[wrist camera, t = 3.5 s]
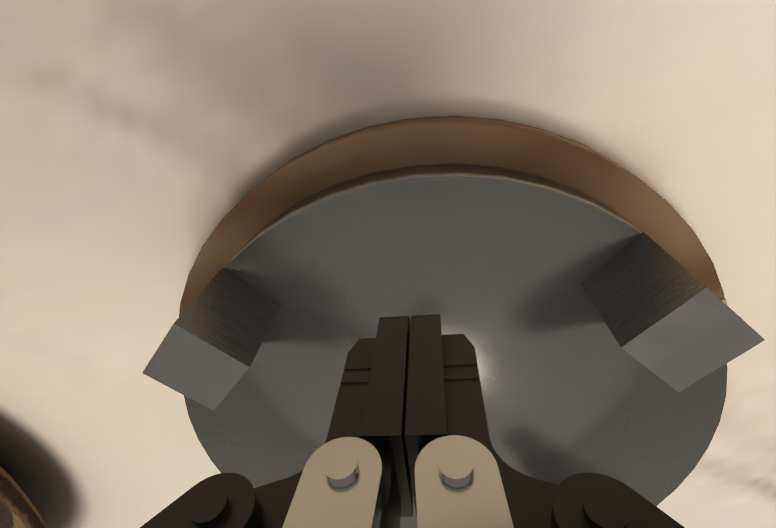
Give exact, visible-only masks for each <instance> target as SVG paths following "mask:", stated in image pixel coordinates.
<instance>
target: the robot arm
mask: <svg viewBox="0 0 776 528" xmlns="http://www.w3.org/2000/svg"><path fill="white" fill-rule="evenodd" d="M413 496H414V503H415V511H416V517H417V522H418V528H684V527H683V526H682V525H680V524H679V523H678V522H676V521H675V520H673V519H672V518H671V517H669V516H668V515H667V514H665V513H664V512H663V511H661V510H660V509H659V508H657V507H656V506H655V505H653V504H652V503H651V502H649V501H648V500H647V499H645V498H644V497H643V496H641V495H640V494H639V493H637V492H636V491H634V490H633V489H632V488H630V487H629V486H627V485H626V484H624V483H623V482H621V481H619V480H617V479H615V478H612V477H609V476H607V475H603V474H599V473H590V472H587V473H578V474H574V475H572V476H569V477H567V478H566V479H565V480H563V481H562V482H561V483H560V484H559V485H556V484H553V483H549V482H546V481H543V480H539V479H536V478H532V477H530V476H527V475H524V474H522V473H520V472H518V471H516V470H514V469H513V468H511V467H510V466H509V465H507V464H506V463H505V462H504V461H503V460H502V459H501V458H500V457H499V456H498V454H497V453H496V451H495V450H494V448H493V446H492V444H491V441H490V437H489V431H488V425H487V419H486V413H485V407H484V401H483V395H482V388H481V382H480V376H479V370H478V364H477V358H476V352H475V347H474V346H473V345H472V343H471V342H470V341H469V340H468V339H467V337H466V336H465V335H464V334H447V335H442V331H441V317H440V314H432V315H413V316H411V324H410V317H409V316H395V317H380V318H379V323H378V329H377V335H376V338H361V339H359V340H358V341H357V342H356V344H355V345H354V346H353V347H352V348H351V350H350V351H349V352H348V354H347V358H346V362H345V366H344V372H343V374H342V378H341V386H340V387H339V391H338V395H337V399H336V403H335V407H334V411H333V415H332V419H331V423H330V427H329V431H328V435H327V439H326V442H325V444H324V445H322V446H321V447H319V448H318V449H317V450H316V451H315V452H314V453H313V454H312V455H311V456H310V458H309V459H308V461H307V463H306V465H305V467H304V469H303V470H302V471H300V472H299V473H297V474H295V475H293V476H290V477H288V478H285V479H282V480H279V481H275V482H272V483H269V484H266V485H263V486H260V487H257V488H253V485H252V484H251V482H250V481H249V480H248V479H247V478H246V477H245V476H243V475H241V474H237V473H221V474H217V475H213V476H211V477H209V478H206V479H205V480H203V481H201V482H199V483H198V484H196V485H195V486H193V487H192V488H191V489H190V490H188V491H187V492H186V493H184V494H183V495H182V496H180V497H179V498H178V499H177V500H175V501H174V502H173V503H171V504H170V505H169V506H168V507H166V508H165V509H164V510H162V511H161V512H160V513H158V514H157V515H156V516H155V517H153V518H152V519H151V520H149V521H148V522H147V523H145V524H144V525H143V526H142V527H140V528H400V517H413Z"/></svg>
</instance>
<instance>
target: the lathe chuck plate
mask: <svg viewBox="0 0 776 528" xmlns="http://www.w3.org/2000/svg"><path fill="white" fill-rule="evenodd" d="M432 314H440V317H441V331H442V335H447V334H464V335H465V336H466V337H467V339H468V340H469V341H470V342H471V343H472V345H473V346H474V347H475V352H476V358H477V364H478V370H479V376H480V382H481V388H482V395H483V401H484V407H485V413H486V419H487V425H488V431H489V437H490V441H491V444H492V446H493V448H494V450H495V451H496V453H497V454H498V456H499V457H500V458H501V459H502V460H503V461H504V462H505V463H506V464H507V465H509V466H510V467H511V468H513V469H514V470H516V471H518V472H520V473H522V474H524V475H527V476H530V477H532V478H536V479H539V480H543V481H546V482H549V483H553V484H556V485H559V484H560V483H561V482H562V481H563V480H565V479H566V478H567V477H569V476H572V475H574V474H578V473H587V472H590V473H599V474H603V475H607V476H609V477H612V478H615V479H617V480H619V481H621V482H623V483H624V484H626V485H627V486H629V487H630V488H632V489H633V490H634V491H636V492H637V493H639V494H640V495H641V496H643V497H644V498H645V499H647V500H648V501H649V502H651V503H652V504H653V505H655V506H657V505H658V504H659V503H660V502H662V501H663V500H664V499H665V498H666V497H667V496H668V495H670V494H671V493H672V492H673V491H674V490H675V489H676V488H677V487H678V486H679V485H680V484H681V483H682V482H683V481H684V479H685V478H686V477H687V476H688V475H689V474H690V473H691V472H692V470H693V469H694V468H695V466H696V465H697V463H698V462H699V460H700V459H701V457H702V456H703V454H704V453H705V451H706V450H707V448H708V447H709V444H710V442H711V440H712V438H713V435H714V433H715V431H716V429H717V427H718V424H719V422H720V418H721V414H722V410H723V406H724V402H725V398H726V383H727V363H728V362H729V361H731V360H733V359H734V358H736V357H738V356H739V355H741V354H743V353H744V352H746V351H748V350H749V349H751V348H753V347H754V346H756V345H757V344H759V343H761V342H762V341H764V339H763V338H762V337H761V336H760V335H759V334H758V333H757V332H756V331H754V330H753V329H752V328H751V327H750V326H749V325H748V324H747V323H746V322H745V321H743V320H742V319H741V318H740V317H739V316H738V315H737V314H736V313H735V312H734V311H732V310H731V309H730V308H729V307H728V306H727V305H726V304H725V303H724V302H722V301H721V300H720V299H719V298H718V297H717V296H716V295H715V294H714V293H713V292H711V291H710V290H709V289H708V288H707V287H706V286H705V285H704V284H702V283H701V282H700V281H699V280H698V279H697V278H696V277H694V276H693V275H692V274H691V273H690V272H689V271H688V270H686V269H685V268H684V267H683V266H682V265H681V264H680V263H679V262H677V261H676V260H675V259H674V258H673V257H672V256H671V255H669V254H668V253H667V252H666V251H665V250H664V249H663V248H661V247H660V246H659V245H658V244H657V243H656V242H655V241H653V240H652V239H651V238H650V237H649V236H648V235H647V234H645V233H644V232H643V231H641V230H640V229H639V228H637V227H636V226H635V225H633V224H632V223H631V222H630V221H628V220H627V219H626V218H624V217H623V216H622V215H620V214H619V213H618V212H616V211H615V210H614V209H612V208H611V207H609V206H607V205H605V204H603V203H601V202H599V201H598V200H596V199H594V198H592V197H590V196H588V195H587V194H585V193H583V192H581V191H579V190H577V189H574V188H571V187H569V186H566V185H563V184H560V183H558V182H555V181H552V180H550V179H547V178H544V177H541V176H538V175H533V174H528V173H524V172H519V171H515V170H510V169H506V168H501V167H493V166H481V165H469V164H457V163H454V164H432V165H413V166H407V167H401V168H396V169H390V170H384V171H379V172H373V173H369V174H366V175H363V176H360V177H357V178H354V179H351V180H347V181H344V182H341V183H338V184H335V185H332V186H330V187H328V188H326V189H324V190H322V191H320V192H318V193H316V194H313V195H311V196H309V197H307V198H305V199H303V200H301V201H299V202H298V203H296V204H295V205H293V206H292V207H290V208H289V209H287V210H286V211H284V212H283V213H281V214H280V215H278V216H277V217H275V218H274V219H272V220H271V221H269V222H268V223H267V224H266V225H265V226H264V227H263V228H262V229H261V230H260V231H258V232H257V233H256V234H255V235H254V236H253V237H252V238H251V239H250V240H249V241H248V242H246V244H245V245H244V246H243V247H242V248H241V249H240V251H239V252H238V253H237V254H236V255H235V257H234V258H233V259H232V260H231V261H230V262H229V264H228V265H227V266H226V267H225V269H224V268H221V270H220V271H219V272H218V273H217V274H216V275H215V277H214V278H213V279H212V280H211V281H210V282H209V283H208V285H207V286H206V287H205V288H204V289H203V290H202V292H201V293H200V294H199V295H198V296H197V297H196V299H195V300H194V301H193V302H192V303H191V304H190V305H189V307H188V308H187V309H186V310H185V311H184V312H183V314H182V315H181V316H180V317H179V318H178V319H177V321H176V322H175V323H174V324H173V326H172V327H171V329H170V330H169V332H168V334H167V335H166V337H165V338H164V340H163V341H162V343H161V345H160V346H159V348H158V349H157V351H156V352H155V354H154V356H153V357H152V359H151V360H150V362H149V363H148V365H147V366H146V368H145V370H144V371H143V374H145V375H147V376H149V377H151V378H153V379H155V380H157V381H158V382H160V383H162V384H164V385H166V386H168V387H170V388H172V389H174V390H175V391H177V392H179V393H181V394H183V395H184V398H185V402H186V406H187V410H188V415H189V418H190V420H191V423H192V425H193V427H194V430H195V432H196V435H197V437H198V439H199V441H200V443H201V444H202V446H203V448H204V449H205V451H206V453H207V454H208V456H209V458H210V459H211V460H212V462H213V463H214V464H215V466H216V467H217V468H218V469H219V471H220V472H221V473H237V474H241V475H243V476H245V477H246V478H247V479H248V480H249V481H250V482H251V484H252V485H253V488H257V487H260V486H263V485H266V484H269V483H272V482H275V481H279V480H282V479H285V478H288V477H290V476H293V475H295V474H297V473H299V472H300V471H302V470H303V469H304V467H305V465H306V463H307V461H308V459H309V458H310V456H311V455H312V454H313V453H314V452H315V451H316V450H317V449H318V448H319V447H321V446H322V445H324V444H325V442H326V439H327V435H328V431H329V427H330V423H331V419H332V415H333V411H334V407H335V403H336V399H337V395H338V391H339V387H340V386H341V378H342V374H343V372H344V366H345V362H346V358H347V354H348V352H349V351H350V350H351V348H352V347H353V346H354V345H355V344H356V342H357V341H358V340H359V339H361V338H376V335H377V329H378V323H379V318H380V317H395V316H409V317H410V324H411V316H413V315H432ZM400 528H418V522H417V517H416V511H415V503H414V496H413V517H400Z"/></svg>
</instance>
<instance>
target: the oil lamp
mask: <svg viewBox="0 0 776 528" xmlns="http://www.w3.org/2000/svg"><path fill="white" fill-rule="evenodd" d="M0 528H47V526H46V525H45V523H44V521H43V520H42V518H41V516H40V514H39V513H38V511H37V510H36V508H35V507H34V505H33V504H32V503H31V501H30V500H29V498H28V497H27V495H26V494H25V493H24V492H23V490H22V489H21V488H20V487H19V485H18V484H17V483H16V482H15V480H14V479H13V478H12V477H11V476H10V475H9V474H8V473H7V472H6V471H5V470H4V469H3V468H2V467H1V466H0Z"/></svg>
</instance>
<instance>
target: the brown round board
mask: <svg viewBox="0 0 776 528" xmlns="http://www.w3.org/2000/svg"><path fill="white" fill-rule="evenodd" d="M454 163H457V164H469V165H481V166H493V167H501V168H506V169H510V170H515V171H519V172H524V173H528V174H533V175H538V176H541V177H544V178H547V179H550V180H552V181H555V182H558V183H560V184H563V185H566V186H569V187H571V188H574V189H577V190H579V191H581V192H583V193H585V194H587V195H588V196H590V197H592V198H594V199H596V200H598V201H599V202H601V203H603V204H605V205H607V206H609V207H611V208H612V209H614V210H615V211H616V212H618V213H619V214H620V215H622V216H623V217H624V218H626V219H627V220H628V221H630V222H631V223H632V224H633V225H635V226H636V227H637V228H639V229H640V230H641V231H643V232H644V233H645V234H647V235H648V236H649V237H650V238H651V239H652V240H653V241H655V242H656V243H657V244H658V245H659V246H660V247H661V248H663V249H664V250H665V251H666V252H667V253H668V254H669V255H671V256H672V257H673V258H674V259H675V260H676V261H677V262H679V263H680V264H681V265H682V266H683V267H684V268H685V269H686V270H688V271H689V272H690V273H691V274H692V275H693V276H694V277H696V278H697V279H698V280H699V281H700V282H701V283H702V284H704V285H705V286H706V287H707V288H708V289H709V290H710V291H711V292H713V293H714V294H715V295H716V296H717V297H718V298H719V299H720V300H721V301H722V302H724V303H725V304H726V305H727V303H726V299H725V298H724V293H723V290H722V287H721V284H720V281H719V279H718V276H717V273H716V270H715V268H714V265H713V262H712V260H711V259H710V257H709V255H708V254H707V252H706V250H705V249H704V247H703V245H702V244H701V242H700V240H699V239H698V237H697V235H696V234H695V232H694V231H693V230H692V229H691V227H690V226H689V225H688V224H687V223H686V222H685V221H684V219H683V218H682V217H681V216H680V215H679V214H678V213H677V212H676V210H675V209H674V208H673V207H672V206H671V205H670V204H669V203H668V202H667V201H666V200H665V199H663V198H662V197H661V196H660V195H658V194H657V193H656V192H655V191H653V190H652V189H651V188H650V187H648V186H647V185H646V184H645V183H643V182H642V181H641V180H640V179H638V178H637V177H636V176H634V175H633V174H631V173H630V172H628V171H626V170H625V169H623V168H622V167H620V166H619V165H617V164H616V163H614V162H612V161H610V160H608V159H607V158H605V157H603V156H601V155H600V154H598V153H596V152H594V151H593V150H591V149H589V148H587V147H585V146H584V145H582V144H579V143H577V142H574V141H572V140H569V139H566V138H564V137H561V136H558V135H556V134H553V133H550V132H548V131H545V130H543V129H539V128H534V127H530V126H525V125H521V124H516V123H512V122H507V121H503V120H496V119H484V118H472V117H459V116H449V117H431V118H413V119H406V120H401V121H396V122H391V123H386V124H381V125H375V126H370V127H367V128H364V129H361V130H358V131H355V132H352V133H349V134H346V135H343V136H340V137H337V138H334V139H332V140H329V141H327V142H325V143H323V144H321V145H319V146H317V147H315V148H313V149H311V150H309V151H307V152H305V153H303V154H301V155H299V156H297V157H295V158H294V159H292V160H291V161H289V162H288V163H287V164H285V165H284V166H282V167H281V168H280V169H278V170H277V171H275V172H274V173H273V174H271V175H270V176H268V177H267V178H266V179H264V180H263V181H262V182H261V183H260V184H259V185H258V186H256V187H255V188H254V189H253V190H252V191H251V192H250V193H249V194H248V195H247V196H246V197H245V198H244V199H243V200H242V201H241V202H240V203H239V204H237V205H236V206H235V207H234V208H233V209H232V210H231V211H230V212H229V213H228V214H227V215H226V216H225V217H224V218H223V219H222V221H221V222H220V223H219V225H218V226H217V228H216V229H215V230H214V232H213V233H212V234H211V236H210V237H209V238H208V240H207V241H206V243H205V244H204V245H203V247H202V249H201V251H200V253H199V255H198V257H197V259H196V261H195V263H194V265H193V267H192V269H191V271H190V273H189V276H188V279H187V283H186V286H185V289H184V293H183V296H182V300H181V304H180V313H179V317H180V316H181V315H182V314H183V312H184V311H185V310H186V309H187V308H188V307H189V305H190V304H191V303H192V302H193V301H194V300H195V299H196V297H197V296H198V295H199V294H200V293H201V292H202V290H203V289H204V288H205V287H206V286H207V285H208V283H209V282H210V281H211V280H212V279H213V278H214V277H215V275H216V274H217V273H218V272H219V271H220V270H221V268H224V269H225V267H226V266H227V265H228V264H229V262H230V261H231V260H232V259H233V258H234V257H235V255H236V254H237V253H238V252H239V251H240V249H241V248H242V247H243V246H244V245H245V244H246V242H248V241H249V240H250V239H251V238H252V237H253V236H254V235H255V234H256V233H257V232H258V231H260V230H261V229H262V228H263V227H264V226H265V225H266V224H267V223H268V222H269V221H271V220H272V219H274V218H275V217H277V216H278V215H280V214H281V213H283V212H284V211H286V210H287V209H289V208H290V207H292V206H293V205H295V204H296V203H298V202H299V201H301V200H303V199H305V198H307V197H309V196H311V195H313V194H316V193H318V192H320V191H322V190H324V189H326V188H328V187H330V186H332V185H335V184H338V183H341V182H344V181H347V180H351V179H354V178H357V177H360V176H363V175H366V174H369V173H373V172H379V171H384V170H390V169H396V168H401V167H407V166H413V165H432V164H454Z"/></svg>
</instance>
